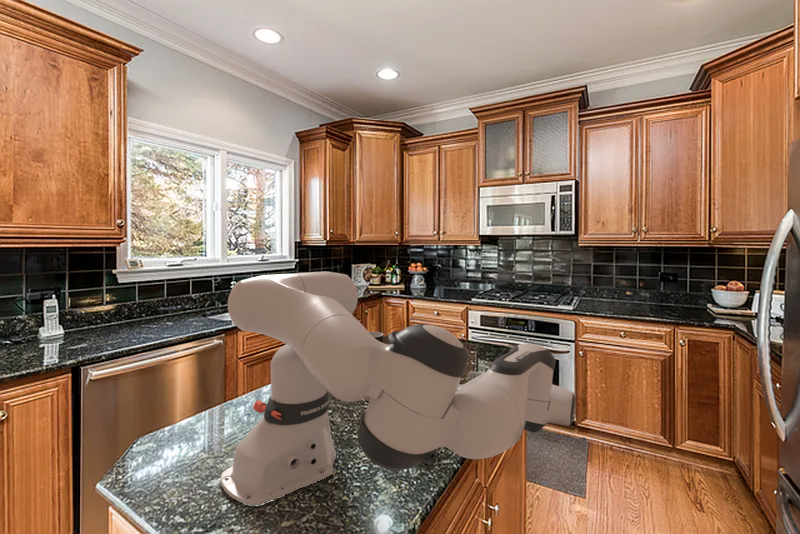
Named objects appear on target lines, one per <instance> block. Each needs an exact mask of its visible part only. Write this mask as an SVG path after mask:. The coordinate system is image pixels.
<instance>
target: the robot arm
mask: <svg viewBox="0 0 800 534" xmlns="http://www.w3.org/2000/svg"><path fill="white" fill-rule="evenodd" d="M357 289H358V288H357V286H356V284H355V282H354V281H353V280H352V278H351V277H350V276H349V275H348V274H345V273H339V272H333V271H312V272H295V273H277V274H263V275H257V276H253V277H249V278H245V279H241V280H238V281H237V283H235V284H234V286H233V287H232V289H231V291H230V292H229V295H228V299H227V310H228V315H229V317H230V319H231V321H232V322H233V324H234V325H235V326H236V327H237V328H238V329H240V331H243V332H251V333H257V334H261V335H264V336H267V337H271V338H273V339H275V340H278V341H280V342H282V343H284V345H283V346H281V347H280V348H278V349H277V351H276V352H275V353H274V355H273V356H272V359H271V361H270V389H271V392H270V393H271V394H270V395H269V398H268V399H267V403H265V402H263V401H261V400H260V399H259V400H256V401H255V402H254V403H253V407H252V409H253V410H254V411H255V412H257V413H259V414H262V413H263V417H262V418H261V420H260V421H258V423H256V425H255V426H254V427H253V428H252V429H251V430H250V432H248V433H247V434H246V436H245V437H244V438H243V439H242V440H241V441H239V443H238V444H237V446H236V448H235V451H234V455H233V461H232V462H233V463H232V466H230V467H228V468H226V469H225V470H223V471H222V472H221V475H220V486H222V487H223V489H224V490H223V489H222V490H223V492H224V491H225V492H226V493H227V494H228V495H230V496H231V497H232V498H234V499H236V500H237V501H240V502H243V503H245V504H249V505H260V504H263V503H266V502H268V501H271V500H274V499H276V498H278V497H280V496H283V495H285V494H288V493H290V492H293V491H295V490H297V489H299V488H302V487H305V486H307V485H309V486H311V485H310V484H312V485H314V484H316V483H318V482H317V481H319V482H321V481H323V480H325V479H327V478H326V477H328V476H330V475H332V474H333V475H334V473H335V472H334V463H335V460H336V458H337V451H336V448H335V446H334V442H333V439H332V433H331V429H330V420H329V409H330V395H332V397H334V398H336V399H337V400H339V401H341V402H345V403H355V402H360V401H362V400H366V398H367V397H368V396H369V397H371V399H370V402H369V401H368V404H367V407H366V411H364V413H363V414H362V416H361V419H360V422H359V427H358V430H357V441H358V444H359V447H360V449H361V450H362V452H363V454H365V456H366V457H367V458H368V459H369V460H370V461H371V462H372V463H374V464H376V465H377V466H378V467H381V468H383V469H385V470H389V471H394V472H395V471H403V470H408V469H409V470H410V469H413V468H415V467H417V466H419V465H421V463H426V464H431V463H432V462H433V461H435V460H436V458H437V449H439V448H441V447H442V448H443V447H444V448H448V449H449V450H450V451H452V452H453V453H454V454H456V455H457V456H460V457H461V458H465V459H469V460H480V459H481V460H482V459H488V458H492V457H495V456H497V455H500V454H502V453H504V452H506V451H507V450H509V449H511V448H512V447H513V446H515V445H516V444H517V443H518V442H519V440H520V439H521V437H522V435H523V432H524V430H525V431H528V432H532V433H538V432H539V431H540V430H542V429H543V428H544V427H545V426H547V424H554V425H561V426H570V425H572V424H573V422H574V418H575V413H576V396H575V393H574V392H573V391H572V390H569V389H567V388H564V387H562V386H559V385H555V384H553V377H554V371H555V367H556V358H555V357H554V355H553V354H552V352H551V351H550V350H549V349H548V347H547V348H546V347H544V346H542V345H539V344H536V343H528V342H526V343H525V342H524V343H520V344H515V345H514V346H513V347H512V348H510V349H509V350H508V352H506V353H504V354H503V355H500V356H499V357H497V358H496V359H494V360H493V361H492V363H491V364H490V366H489V367H488V369H487V370H486V371H469V372H468V373H467V379H469V381H467V382H465V383H464V384H462V383H461V384H460V381H461V378H463V377H464V376H465V374H466V370H467V367H468V364H469V357H470V356H469V352H468V350H467V347H466V346H465V345H464V344H463V342H461V341H460V340H459V339H458V337H457V336H456V335H455V334H454V333H452V332H451V331H449V330H447V329H445V328H444V327H441V326H437V325H433V324H425V323H418V324H414V325H409V326H407V327H405V328H404V329H402V330H400V331H396V330H395V331H391V332H390V333H389V334H388V335H387V338H388V340H389V342H390V343H389V344H387V343H384V342H383V343H382V342H380V341H378V340H376V339H375V338H374V337H373V336H372V335H371V334H370V333H369V332H370V331H369V330H367V328H366V327H365V326H364V325H363V324H362V323H361V322H360V321H359V320H358V318H356V317H355V316H354V315H353V313H354V311H355V310H356V308H357V305H358V299H359V298H358V296H359V295H358V294H359V293H358V290H357ZM333 475H332V476H333ZM330 477H331V476H330ZM324 478H325V479H324ZM328 478H329V477H328ZM322 479H323V480H322ZM320 480H321V481H320ZM313 483H314V484H313ZM222 487H221V488H222ZM307 487H308V486H307ZM305 488H306V487H305ZM225 492H224V493H225ZM226 493H225V494H226ZM227 494H226V495H227ZM228 495H227V496H228ZM232 498H231V499H232ZM248 498H250V499H248Z"/></svg>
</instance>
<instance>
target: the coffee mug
mask: <svg viewBox="0 0 800 534" xmlns="http://www.w3.org/2000/svg"><path fill="white" fill-rule="evenodd" d="M368 332H369V333H370V334H371V335H372V336H373V337H374V338H375V339H376V340H378V341H380V342H382V343H384V333H383V332H379V331H368Z"/></svg>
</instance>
